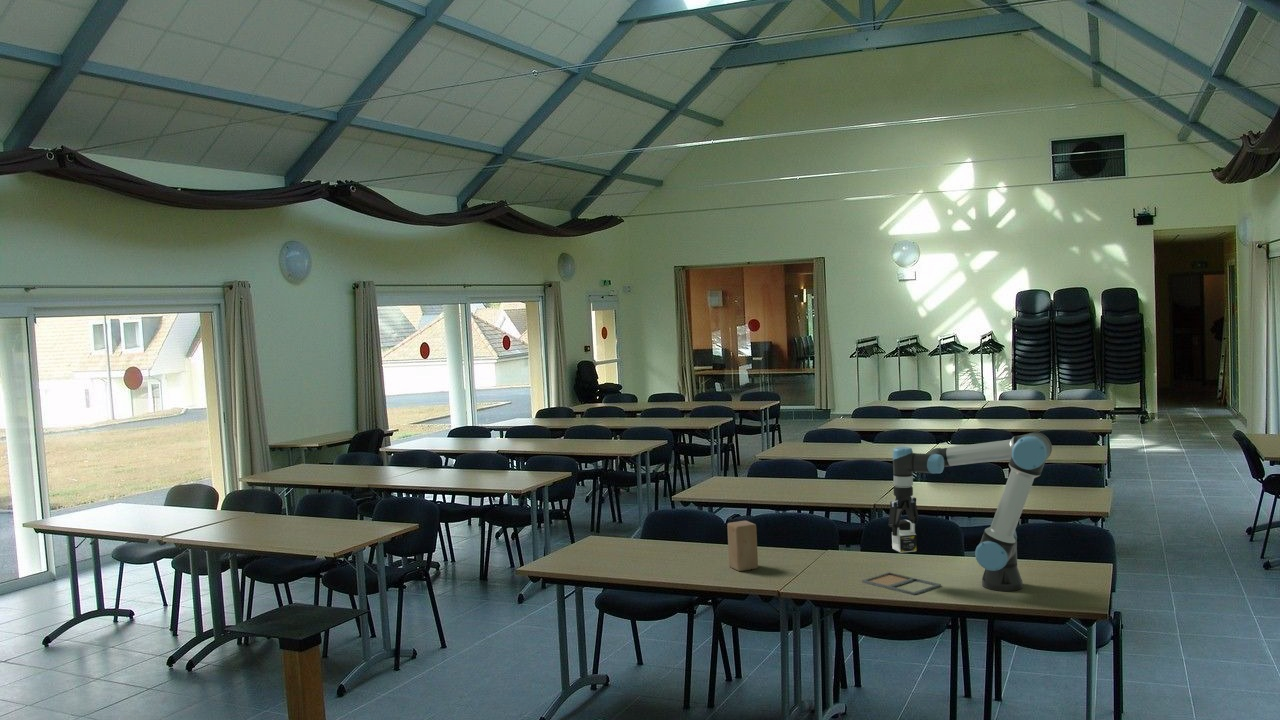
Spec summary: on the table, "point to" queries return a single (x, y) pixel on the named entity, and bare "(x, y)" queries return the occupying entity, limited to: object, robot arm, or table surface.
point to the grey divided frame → (898, 582)
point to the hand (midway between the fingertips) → (904, 541)
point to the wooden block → (742, 545)
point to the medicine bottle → (905, 537)
